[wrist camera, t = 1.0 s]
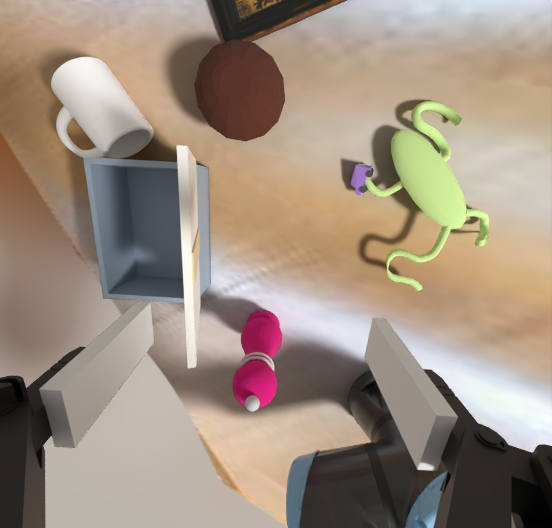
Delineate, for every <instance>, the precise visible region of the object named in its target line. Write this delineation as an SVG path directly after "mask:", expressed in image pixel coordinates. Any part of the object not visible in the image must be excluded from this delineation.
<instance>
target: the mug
mask: <svg viewBox="0 0 552 528" xmlns="http://www.w3.org/2000/svg"><path fill="white" fill-rule="evenodd" d="M51 87H52V90H53V92H54V94H55V95H56V96H57V97H58V99H59V100H60V101H61V102H62V104H63V105H64V106H63V108H62V109H61V110H60V112H59V114H58V116H57V120H56V129H57V133H58V135H59V137H60V139H61V141H62V142H63V143H64V145H65V146H66V147H67V148H68V149H70V150H71V151H72V152H73V153H75V154H77V155H78V156H80V157H92V158H102V157H105V158H111V159H124V158H127V157H130V156H132V155H134V154H136V153H137V152H139V151H140V150H142V149H143V148H144V147H145V146H146V145H147V144H148V143H149V142H150V141H151V139H152V137H153V134H154V131H153V128H152V127H151V126H150V124H149V123H148V121H147V120H146V119H145V117H144V116H143V114H142V113H141V112H140V110H139V109H138V108H137V106H136V105H135V103H134V102H133V101H132V99H131V98H130V97H129V95H128V94H127V92H126V91H125V90H124V88H123V87H122V85H121V84H120V83H119V81H118V80H117V79H116V77H115V76H114V74H113V73H112V72H111V70H110V69H109V67H108V66H107V65H106V64H105V63H104V62H103V61H101V60H99V59H97V58H93V57H79V58H75V59H72V60H69V61H67V62H65V63H64V64H62V65H61V66H60V67H59V68H58V69H57V70H56V71H55V73H54V74H53V76H52V80H51ZM72 118H74V119H75V120H76V122H77V123H78V124H79V125H80V127H81V128H82V129H83V130H84V132H85V133H86V134H87V135H88V137H89V138H90V139H91V141H92V142H93V143H94V144H95V146H96V147H95V148H93V149H90V150H81V149H80V148H78V147H77V146H76V145H75V144H74V143H73V142H72V140H71V139H70V138H69V136H68V134H67V126H68V124H69V122H70V121H71V119H72Z"/></svg>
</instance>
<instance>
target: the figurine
mask: <svg viewBox="0 0 552 528" xmlns="http://www.w3.org/2000/svg"><path fill="white" fill-rule="evenodd" d="M424 110H433V111H436V112H438V113H440V114H442V115H444V116H445V117H446V118H448V119H449V120H450V121H451V122H452V123H453V124H454V125H455V126H457V125H458V124H459V123H460V122H461V120H462V118H461V117H460V116H459V115H458V114H457V113H456V112H455V111H454V110H452V109H451V108H449V107H448V106H446V105H444V104H442V103H439V102H436V101H425V102H422V103H420V104H418V105H417V106H416V107H415V108H414V109H413V110H412V115H411V118H412V121H413V124H414V126H415V127H416V128H417V129H418V130H419V131H421V132H423V133H424V134H426V135H428V136H429V137H430V138H432V139H433V140H434V142H435V143H436V144H437V146H438V147H439V149H440V150H441V153H442V156H441V155H440V154H439V153H438V152H437V151H436V150H435V149H434V148H433V147H432V146H431V145H430V144H429V143H428V142H427V141H425V140H424V139H423V138H421V137H420V136H419V135H417V134H415V133H412V132H410V131H407V130H402V131H398V132H396V133H395V134H394V136H393V138H392V139H391V155H392V158H393V162H394V165H395V169H396V171H397V173H398V175H399V177H400V179H401V181H399V182H398V183H396V184H395V185H393V186H391V187H390V188H388V189H385V190H382V189H379V188H377V187H376V186H375V185H374V184H373V183H372V181H371V180H370V178H369V177H371V176H372V175H373V172H374V170H373V168H372V166H367V165H363V164H356V166H355V169H354V173H353V177H352V180H351V185H352V186H353V187H354V188H355V189H356V194H357V195H361V194H362V193H364V192H366V190H367V189H368V190H369V191H370V192H371V193H372V194H374V195H375V196H378V197H385V196H388V195H390V194H392V193H394V192H396V191H398V190H400V189H401V188H403V187H405V189H406V190H407V192H408V193H409V195H410V196H411V197H412V199H413V200H414V202H415V203H416V204H417V205H418V206H419V207H420V208H421V209H422V211H423V212H424V213H425V214H426V215H427V216H428V217H430V218H431V219H432V220H434V221H435V222H436V223H438V224H439V225H441V226H442V229H441V232H440V234H439V236H438V239H437V241H436V243H435V245H434V246H433V248H432V249H431V250H430V251H429V252H428V253H426V254H423V255H420V256H418V255H415V254H412V253H410V252H407V251H405V250H401V249H394V250H392V251H391V252H390V253H389V254H388V255H387V259H386V264H387V274H388V277H389V278H390V279H391V280H392V281H395V282H403V283H406V284H409V285H411V286H412V287H413V288H414V289H415V290H416V291H419V290H421V289H422V288H423V287H422V286H421V285H420V284H419V283H418V282H417V281H416V280H414V279H412V278H409V277H406V276H400V275H395V274H392V273H391V272H390V271H389V270H388V267H389V263H390V261H391V260H392V259H393V257H396V256H403V257H406V258H408V259H410V260H413V261H415V262H421V263H422V262H425V261H428V260H430V259H432V258H434V257H435V256H436V255H437V254H438V253H439V252H440V250H441V249H442V247H443V245H444V243H445V241H446V239H447V237H448V235H449V232H450V229H456V228H461V226H462V225H463V224H464V222H465V221H466V217H471V216H475V217H478V218H480V232H479V235H478V236H477V239H476V241H475V245H476V246H483V245H484V244H485V243H486V242H487V240H488V233H489V217H488V214H487V213H485V212H483V211H481V210H479V209H466V204H465V200H464V196H463V193H462V190H461V188H460V186H459V184H458V182H457V180H456V177H455V175H454V174H453V172H452V171H451V169H450V168H449V166H448V165H447V163H446V161H448V160H449V158H450V154H451V151H450V148H449V145H448V144H447V142H446V141H445V139H444V138H443V136H442V135H441V134H440V133H439V132H438V131H437V130H436V129H435V128H433V127H431V126H429V125H427V124H426V123H425V122H423V121H422V118H421V116H420V113H421V112H422V111H424Z"/></svg>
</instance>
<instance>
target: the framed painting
mask: <svg viewBox="0 0 552 528" xmlns="http://www.w3.org/2000/svg"><path fill="white" fill-rule="evenodd" d="M211 1H212V4H213V7H214V10H215V13H216V16H217V19H218V22H219V25H220V28H221V31H222V34H223V37H224V40H225V42H227V41H230V40H233V39H235V40H241V41H246V42H252V41H254V40H257V39H259V38H261V37H264V36H266V35H268V34H270V33H273V32H275V31H277V30H280V29H282V28H285V27H287V26H290V25H292V24H295V23H297V22H299V21H301V20H303V19H305V18H307V17H310V16H312V15H314V14H317V13H319V12H321V11H324V10H326V9H328V8H330V7H333V6H335V5H337V4H340V3H342V2H345V1H347V0H211Z"/></svg>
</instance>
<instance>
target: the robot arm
mask: <svg viewBox="0 0 552 528" xmlns="http://www.w3.org/2000/svg"><path fill="white" fill-rule="evenodd" d="M153 343H154V336H153V325H152V314H151V303H150V302H136V303H135V304H134V305H133V306H132V307H131V308H130V309H128V310H127V311H126V312H125V313H124V314H123V315H122V316H121V317H119V318H118V319H117V320H116V321H115V322H114V323H113V324H112V325H111V326H109V327H108V328H107V329H106V330H105V331H104V332H103V333H102V334H100V335H99V336H98V337H97V338H96V339H95V340H94V341H93V342H91V343H90V344H89V345H88V346H87V347H79V348H77V349H75V350H73V351H71V352H69V353H68V354H66V355H65V356H64V357H63V358H62V359H61V360H59V361H58V363H56V364H55V365H53V366H52V367H51V368H50V370H47V372H45V373H44V374H43V375H41V376H40V377H39V378H38V379H37V380H36V381H34V382H33V383H32V384H31V385H30V386H29V387H27V388H26V386H25V383H24V380H23V378H22V377H20V376H6V377H2V378H0V528H45V450H44V447H43V445H44V444H45V442H46V441H47V440H48V439H49V438H50V436H52V438H53V442H54V445H55V447H68V448H69V447H70V448H75V447H76V446H77V445H78V443H79V442H80V440H81V439H82V438H83V437H84V435H85V434H86V433H87V431H88V430H89V429H90V427H91V426H92V425H93V423H94V422H95V421H96V419H97V418H98V417H99V415H100V414H101V413H102V411H103V410H104V409H105V407H106V406H107V405H108V403H109V402H110V400H111V399H112V398H113V397H114V395H115V394H116V392H117V391H118V390H119V389H120V387H121V386H122V385H123V383H124V382H125V381H126V379H127V378H128V377H129V375H130V374H131V373H132V371H133V370H134V368H135V367H136V366H137V365H138V363H139V362H140V361H141V359H142V358H143V357H144V355H145V354H146V353H147V351H148V350H149V349H150V347H151V346H152V345H153ZM365 359H366V361H367V363H368V365H369V367H370V370H371V371H369V372H367V373H365V374H363V375H362V376H361V377H360V378H358V380H357V381H356V382H355V383H354V384H353V386H352V388H351V390H350V394H349V404H350V408H351V411H352V414H353V417H354V419H355V420H356V422H357V423H358V424H359V425H360V427H361V428H362V430H363V431H364V432H365V434H366V435H367V436H368V438H369V439H370V440H371V443H366V444H359V445H354V446H348V447H342V448H336V449H330V450H324V451H319V450H317V451H315V452H314V453H310V454H306V455H302V456H299V457H297V458H296V459H295V460H294V461H293V463H292V465H291V468H290V470H289V475H288V482H287V494H286V518H287V526H288V528H511V512H512V516H513V519H514V523H515V526H516V528H552V446H549V445H545V444H544V445H538V446H537V447H536V449H535V450H534V452H533V453H531V452H528V451H525V450H522V449H519V448H516V447H513V446H510V445H508V444H507V442H506V441H505V440H504V439H503V438H502V437H501V436H500V435H499V434H498V433H497V432H495V431H493V430H492V429H490V428H489V427H486V426H484V425H481V424H478V423H477V422H476V420H475V419H474V418H473V417H472V415H471V414H470V413H469V412H468V410H467V409H466V408H465V407H464V405H463V404H462V403H461V402H460V400H459V399H458V398H457V397H456V396H455V394H454V393H453V392H452V390H451V389H449V387H448V385H447V384H446V383H445V382H444V380H443V379H442V378H441V377H440V376H438V375H437V374H436V373H435V372H433V371H432V370H426V369H422V367H421V366H420V365H419V363H418V362H417V361H416V359H415V358H414V356H413V355H412V354H411V352H410V351H409V350H408V348H407V347H406V346H405V344H404V343H403V342H402V340H401V339H400V338H399V336H398V335H397V333H396V332H395V331H394V329H393V328H392V327H391V325H390V324H389V323H388V321H387V320H386V319H379V318H373V320H372V325H371V329H370V334H369V338H368V343H367V348H366V352H365Z"/></svg>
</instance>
